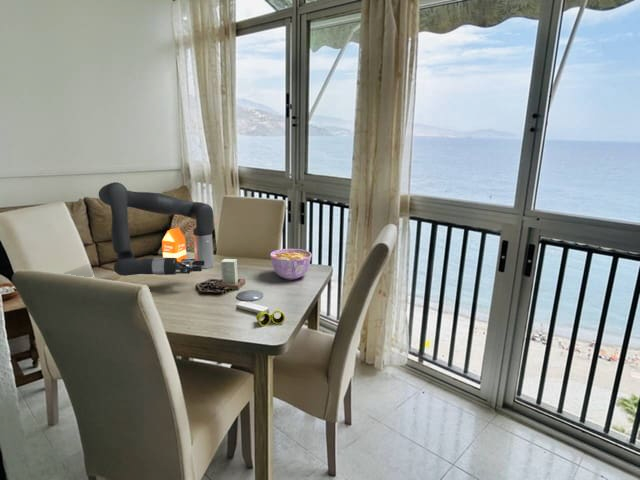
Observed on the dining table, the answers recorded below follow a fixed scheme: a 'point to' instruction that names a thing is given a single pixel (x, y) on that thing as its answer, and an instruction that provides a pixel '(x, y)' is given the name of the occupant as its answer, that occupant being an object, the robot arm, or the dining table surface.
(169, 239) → the orange juice
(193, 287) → the dining table surface
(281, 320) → the opera glasses
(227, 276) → the skincare box
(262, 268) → the dining table surface
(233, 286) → the pocket block
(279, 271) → the bowl of food
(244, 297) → the slate coaster
